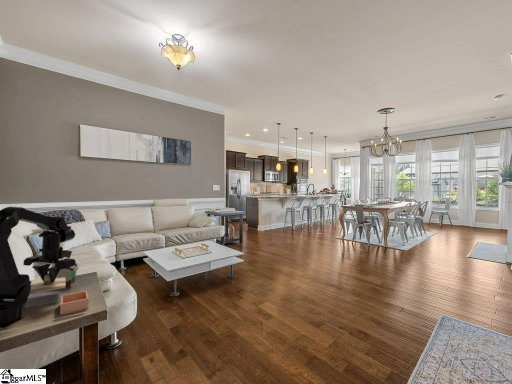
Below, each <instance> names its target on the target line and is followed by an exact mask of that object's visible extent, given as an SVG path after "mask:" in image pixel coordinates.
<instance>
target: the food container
mask: <svg viewBox="0 0 512 384" xmlns="http://www.w3.org/2000/svg"><path fill="white" fill-rule="evenodd" d="M50 266H51V267H53V264H51V265H50ZM51 267H50V268H51ZM79 269H80V268H79V264H78V263H77V262H76V263H75V265H74V266H71V267H69V268H66V269H61V270H60V271H59V273H58V275H57V277H56V278H61V277H65V281H66V286H65V287H72V286H74V285H75V282H76V277H77V271H78V270H79Z"/></svg>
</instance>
